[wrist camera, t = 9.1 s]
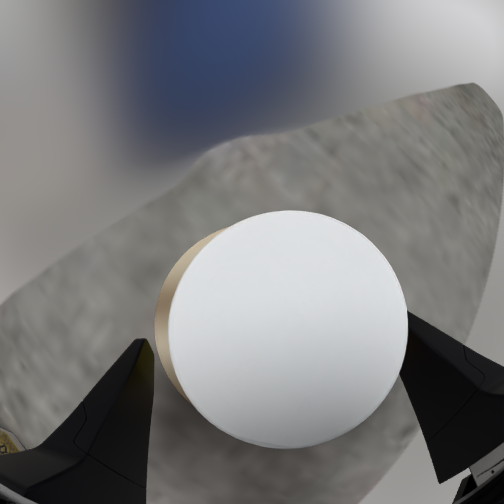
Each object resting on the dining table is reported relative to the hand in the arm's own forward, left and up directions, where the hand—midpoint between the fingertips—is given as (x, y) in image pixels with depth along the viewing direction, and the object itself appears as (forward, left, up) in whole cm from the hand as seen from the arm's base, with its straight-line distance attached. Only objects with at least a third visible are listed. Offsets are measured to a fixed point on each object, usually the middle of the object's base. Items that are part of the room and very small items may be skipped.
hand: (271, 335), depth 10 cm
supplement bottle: (0, 0, -8) cm, 8 cm away
